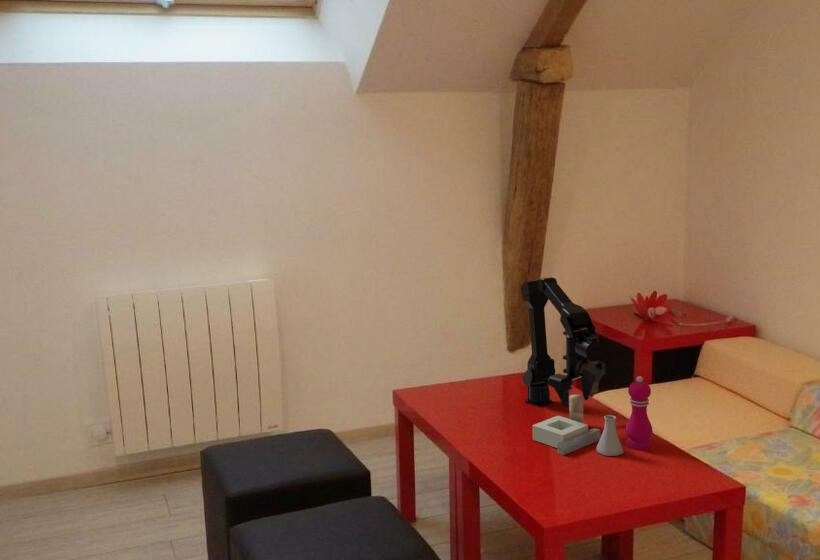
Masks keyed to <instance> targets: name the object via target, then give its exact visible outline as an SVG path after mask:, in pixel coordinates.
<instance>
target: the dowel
mask: <svg viewBox="0 0 820 560" xmlns="http://www.w3.org/2000/svg"><path fill="white" fill-rule="evenodd" d="M568 408H569V409H568V410H569V413H568V414H569V415H568V416H569V418H568V419H571V420H574V421H577V422H580V423H583V424H584V396H583V394H571V395H570V394H569V402H568Z"/></svg>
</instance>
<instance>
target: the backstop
mask: <svg viewBox="0 0 820 560" xmlns="http://www.w3.org/2000/svg"><path fill="white" fill-rule="evenodd" d="M600 438H601V429H600V428H595V427H593V428H591V429H588V431H586V432H583V433H581V434H578V435H576V436H574V437H571V438H569V439H566V440H564V441H561V442H559V443H557V448H556V450H557V453H556V454H558V455H560V456H566V455H568V454H569V453H572V452H575V451H577V450H580V449H582V448H584V447H586V446H589V445H591V444H593V443H596V442H599V441H600Z"/></svg>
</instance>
